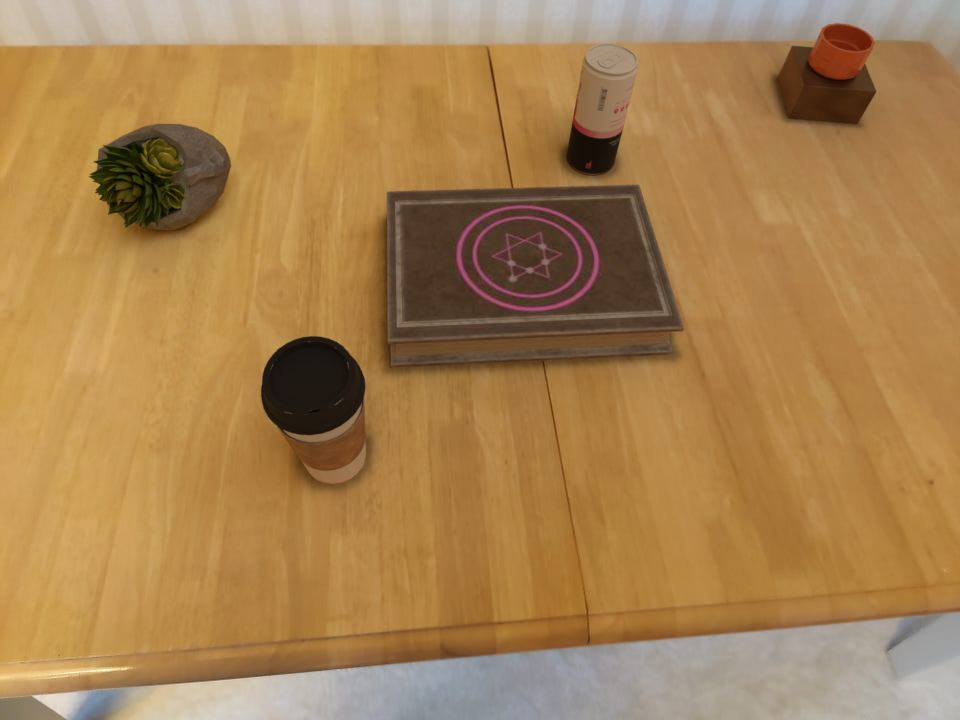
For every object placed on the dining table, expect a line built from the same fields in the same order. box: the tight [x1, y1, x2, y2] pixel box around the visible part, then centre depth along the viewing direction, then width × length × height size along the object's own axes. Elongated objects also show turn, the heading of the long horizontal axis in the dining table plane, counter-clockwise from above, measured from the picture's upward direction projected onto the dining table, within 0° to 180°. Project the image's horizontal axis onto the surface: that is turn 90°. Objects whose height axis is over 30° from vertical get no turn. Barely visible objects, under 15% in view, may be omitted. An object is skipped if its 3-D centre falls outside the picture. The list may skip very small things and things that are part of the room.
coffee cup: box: [260, 335, 367, 485], centre depth 59 cm, size 8×8×15 cm
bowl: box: [808, 22, 876, 80], centre depth 94 cm, size 7×7×4 cm
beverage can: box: [566, 42, 639, 176], centre depth 85 cm, size 6×6×15 cm
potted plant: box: [88, 123, 232, 231], centre depth 77 cm, size 12×13×15 cm
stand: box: [777, 45, 877, 125], centre depth 98 cm, size 10×10×6 cm
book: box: [386, 184, 685, 369], centre depth 76 cm, size 30×22×5 cm
